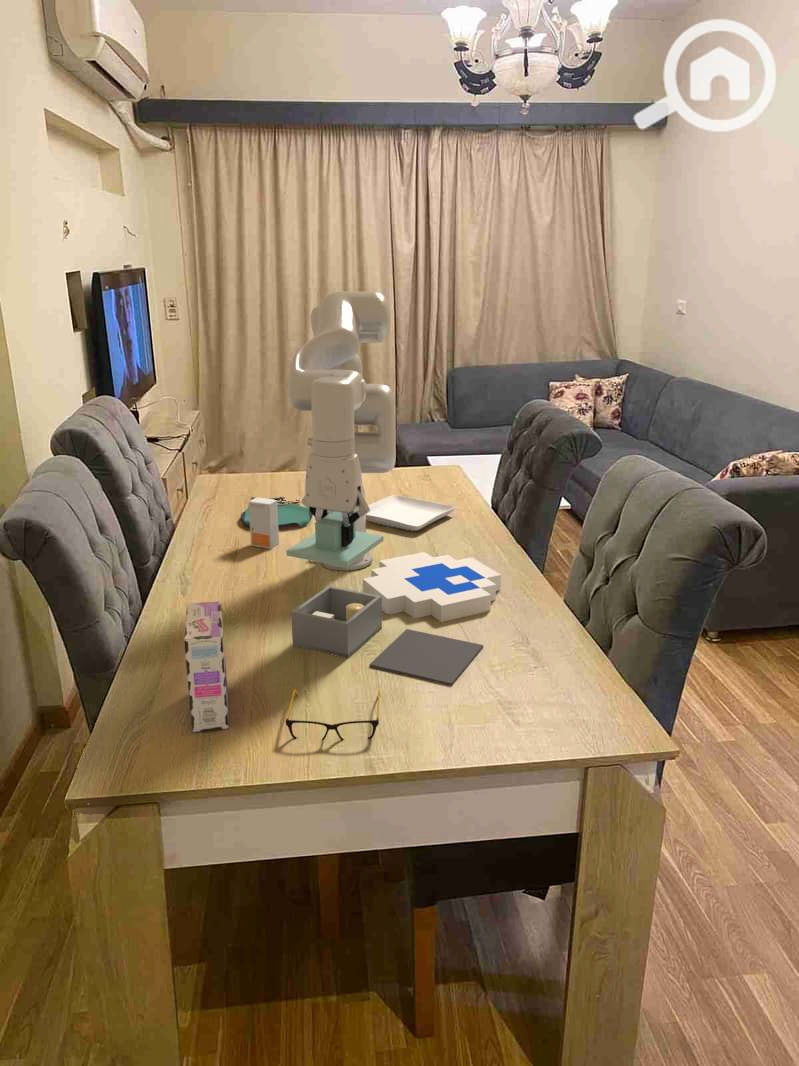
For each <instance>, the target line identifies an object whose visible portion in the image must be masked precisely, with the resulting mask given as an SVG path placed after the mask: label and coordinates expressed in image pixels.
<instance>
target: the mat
mask: <svg viewBox="0 0 799 1066" xmlns="http://www.w3.org/2000/svg"><path fill="white" fill-rule="evenodd" d="M483 648H484V645H483V644H481V643H477V642H475V643H474V642H470V641H466V640H461V639H456V638H451V637H447V636H442V635H438V634H433V633H429V632H423V631H418V630H413V629H409V628H406V629H405V630H404V631H403V632H401V634H399V636H398V637H396V638H395V640H393V641H392V643H390V644H389V645H388V646H387V647H386V648H385V649H384V650H383V651H382V652H380V653H379V655H378V656H376V657H375V658H374V659H373V661H371V662H370V663H369V668H370V667H371V668H374V669H378V670H383V671H386V672H392V673H395V674H400V675H404V676H407V677H412V678H417V679H421V680H425V681H430V682H434V683H436V684H437V683H438V684H441V685H442V684H443V685H446V686H450V687H452V686H453V685H454V684H455V683H456V681H457V680H458V679H459V678H460V677H461V675H462V674H463V673H464V672H465V670H466V669H467V668H468V666H470V665H471V663H472V662H473V660H474V659H475V658H476V657H477V656H478V654H479V653H480V652H481V651H482V649H483Z"/></svg>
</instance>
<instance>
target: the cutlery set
mask: <svg viewBox="0 0 799 1066" xmlns="http://www.w3.org/2000/svg"><path fill="white" fill-rule="evenodd" d="M257 497H258V496H256V497H254V496H251V497H250V501H251V500H252V499H255V498H257ZM285 497H286V496H279V497H267V498H268V499H278V500H279V501H277V508H278V528H287V527H292V526H297V525H300V526H301V527H302V528H304V526H305V527H306V526H308V525H309V523H310V520H311V519H313V517H314V515H313V514H312V513H311V512H310V510H309V509H308V508H307V507H306V506H302V505H300V502H301V501H300V499H299V500H296V501H299V502H298V503H297V502H294V501H292V503H294V504H289V503H290V502H287V503H288V504H284V503H286V502H282V501H286V500H280V499H285ZM258 498H260V497H258ZM240 519H241V521H243V522H244V524H245V525H246V526H248V527H250V516H249V507H248V508H246V509H245V511H243V512H241V514H240Z"/></svg>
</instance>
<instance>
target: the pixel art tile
mask: <svg viewBox="0 0 799 1066" xmlns="http://www.w3.org/2000/svg"><path fill="white" fill-rule="evenodd" d="M378 562H379V563H378V564H379V565H378V567H377V568H373V569H370V572H371V574H370V577H369V576H368V577H365V578H362V592H363V593H368V594H373V595H378V596H382V612H383V613H385V614H386V613H387V614H390V615H395V614H399V613H403V612H405V611H406V612H405V613H407V614H408V615H409V614H410V615H411V616H410V615H409V616H410V617H412V618H413V619H418V618H422V617H426V616H427V617H428V616H432V617H433V618H435V619H437V620H438V621H439V622H440V623H442V622H446V621H448V622H449V621H452V620H456V619H460V618H464V617H468V616H473V615H477V614H482V613H485V612H489V611H491V603H492V601H496V597H497V595H496V594H497V591H498V592H499V591H501V582H502V574H501V573H499V572H497V570H496V571H495V570H494V569H492V568H490V567H489V566H487V565H485V564H483V563H482V562H481V561H479V560H477V559H476V558H474V557H466V558H462V559H455V558H454V557H452V556H451V555H450V554H444V555H440V556H434V557H433V556H432V555H430V554H428V553H427V552H425V551H424V552H423V551H422V552H418V553H412V554H408V555H407V554H406V555H401V556H397V557H392V558H386V559H381V560H378ZM398 612H399V613H398ZM387 614H386V615H387Z"/></svg>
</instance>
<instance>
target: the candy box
mask: <svg viewBox="0 0 799 1066" xmlns="http://www.w3.org/2000/svg"><path fill="white" fill-rule="evenodd" d="M222 611H223V610H222V602H221V601H219V600H218V601H206V602H205V601H204V602H196V603H194V602H193V603H186V612H185V614H186V616H185V626H184V629H185V630H184V651H185V666H186V677H187V689H188V698H189V699H188V700H189V709H190V710H189V711H190V720H191V731H192V733H199V732H208V731H217V730H218V731H219V730H227V728H228V729H229V728H230V721H229V720H230V719H229V718H230V717H229V693H228V678H227V676H228V675H227V666H226V665H227V664H226V654H225V653H226V652H225V637H224V636H225V635H224V622H223V612H222Z"/></svg>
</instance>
